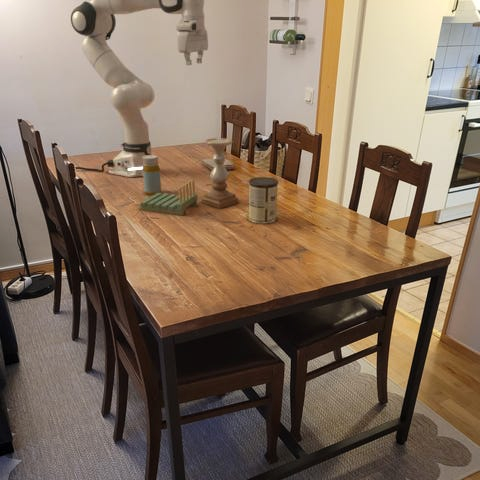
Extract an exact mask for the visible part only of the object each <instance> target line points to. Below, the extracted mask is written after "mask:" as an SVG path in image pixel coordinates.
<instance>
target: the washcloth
mask: <svg viewBox="0 0 480 480" xmlns="http://www.w3.org/2000/svg"><path fill="white" fill-rule="evenodd" d="M200 163H201V164H202V165H203V166H205V167H207V168H208V169H209V170H211V171H212V170H213V168H214V166H215V162H214V160H213V159H212V158H205V159H204V158H203V159H202V160H201V161H200ZM223 164H224V167H225V169H226V171H229V170H230V171H231V170H234V169H235V167H234V163H233V162H232V161H231V160H229V159H227V158H226V159H225V161H224V163H223Z"/></svg>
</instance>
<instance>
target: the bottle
mask: <svg viewBox="0 0 480 480" xmlns="http://www.w3.org/2000/svg"><path fill="white" fill-rule="evenodd" d="M142 158H143V168H142V169H143V176H142V178H143V190H144V194H146V195H147V196H153V195H155V194H156V193H162V181H161V169H160V166H159V157H158V155H153V154H151V155H146V156H143V157H142Z"/></svg>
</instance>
